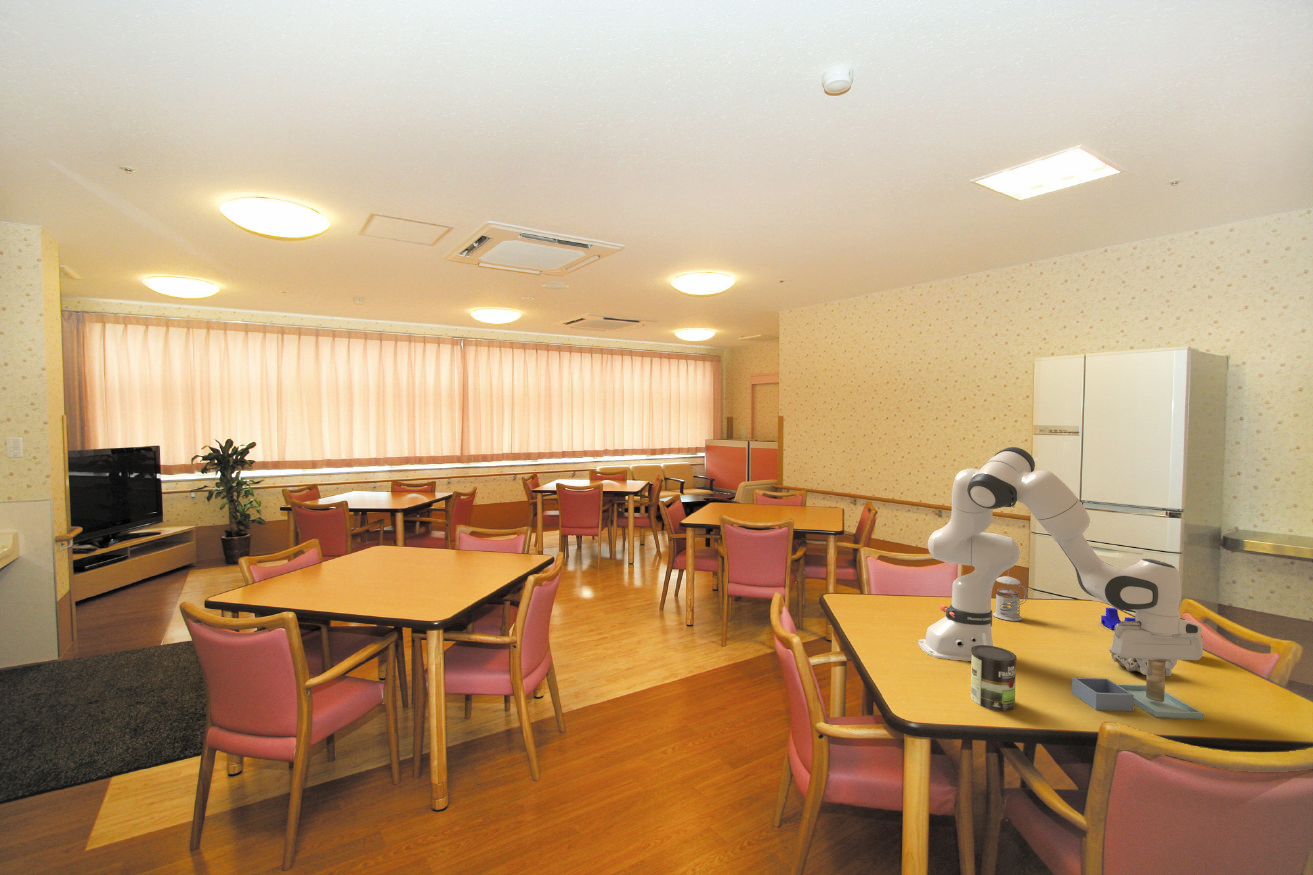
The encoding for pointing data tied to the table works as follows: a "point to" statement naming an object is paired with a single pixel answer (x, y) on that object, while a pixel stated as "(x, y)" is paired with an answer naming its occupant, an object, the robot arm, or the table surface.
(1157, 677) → the dowel
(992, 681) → the coffee can
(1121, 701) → the grey open box
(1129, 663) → the pumice stone
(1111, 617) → the cable clip
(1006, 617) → the french press
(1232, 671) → the table surface
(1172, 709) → the tray
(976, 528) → the robot arm
